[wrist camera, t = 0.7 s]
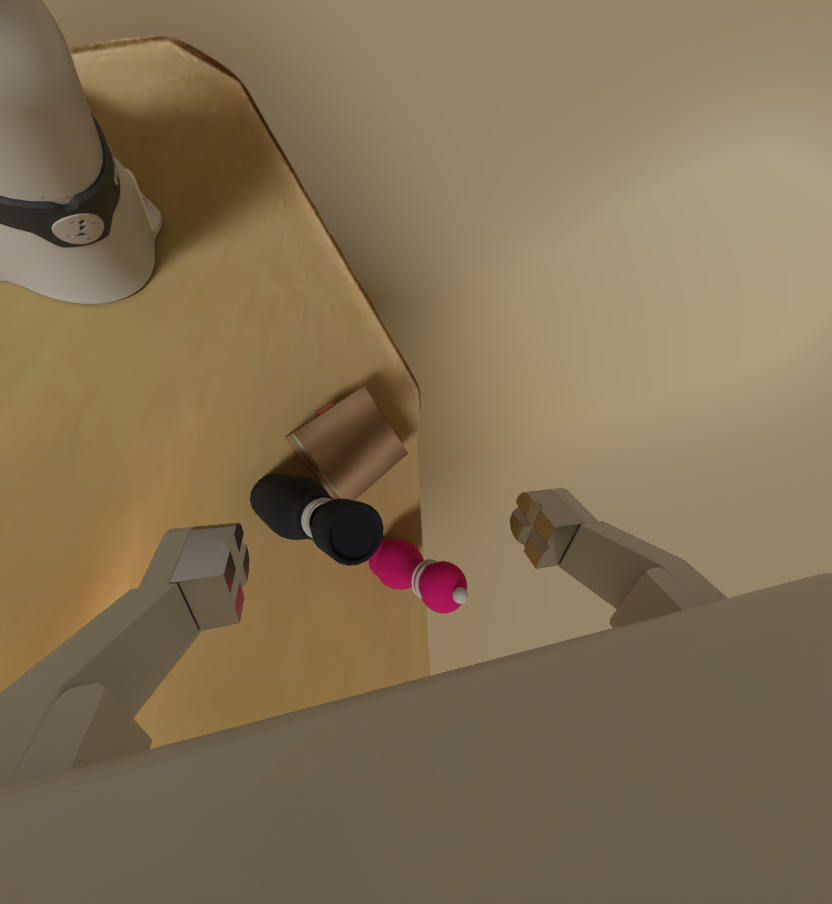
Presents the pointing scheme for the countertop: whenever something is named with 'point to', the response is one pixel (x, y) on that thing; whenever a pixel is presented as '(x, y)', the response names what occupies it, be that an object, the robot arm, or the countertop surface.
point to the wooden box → (348, 445)
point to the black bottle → (318, 517)
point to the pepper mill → (419, 575)
